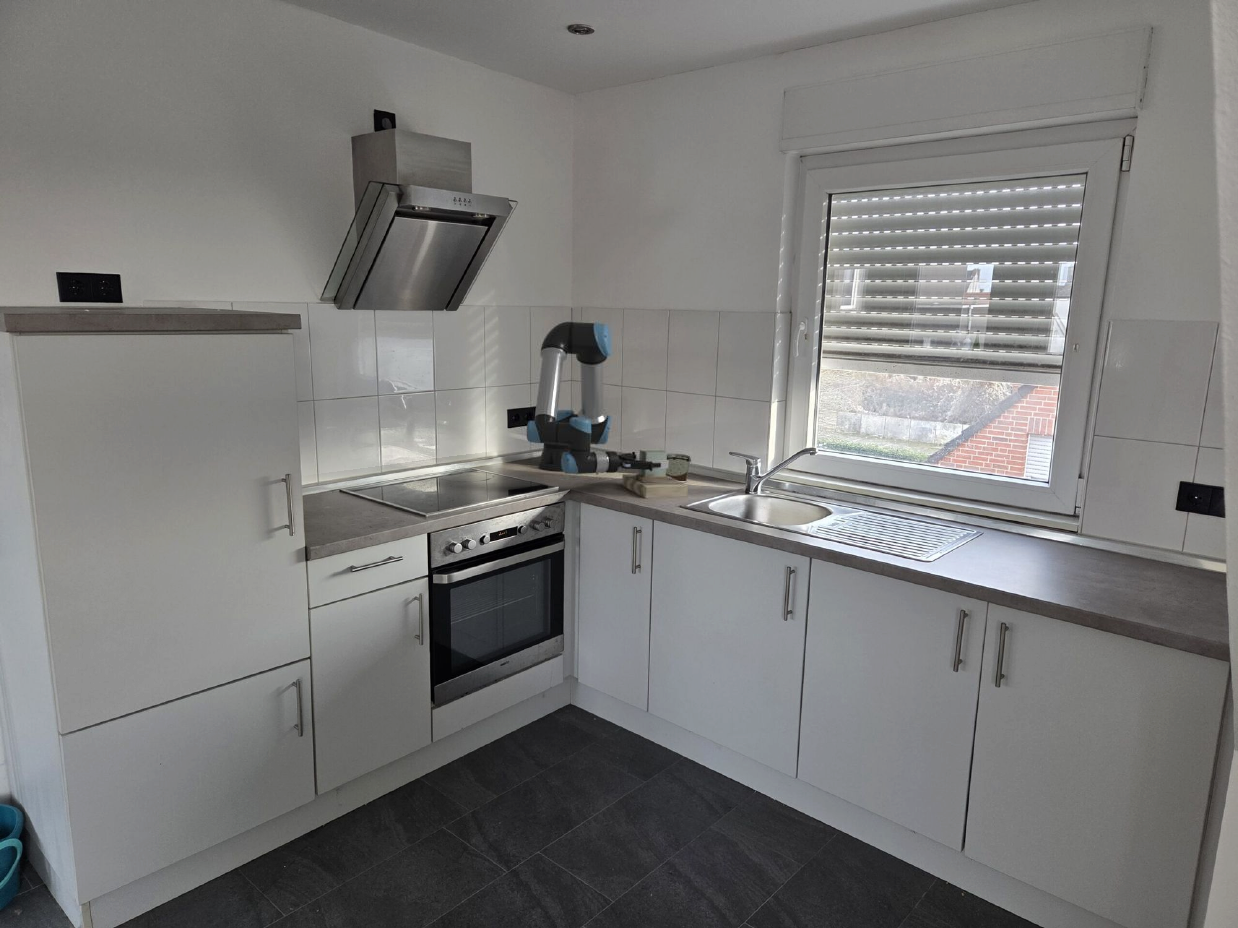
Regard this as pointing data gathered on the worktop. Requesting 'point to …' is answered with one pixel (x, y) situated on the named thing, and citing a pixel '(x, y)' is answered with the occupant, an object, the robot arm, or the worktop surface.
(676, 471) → the food container
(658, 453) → the pale green block
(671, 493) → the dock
